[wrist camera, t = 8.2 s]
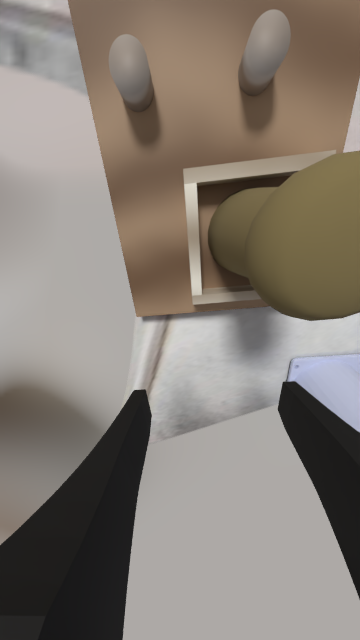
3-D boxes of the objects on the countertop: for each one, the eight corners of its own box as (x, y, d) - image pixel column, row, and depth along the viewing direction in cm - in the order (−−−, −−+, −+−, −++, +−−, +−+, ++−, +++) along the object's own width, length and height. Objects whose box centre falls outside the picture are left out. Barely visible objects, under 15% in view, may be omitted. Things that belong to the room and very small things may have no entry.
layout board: (302, 298, 19) (323, 312, 16) (139, 311, 20) (131, 326, 17) (377, -77, 10) (458, -202, 7) (70, -19, 11) (28, -109, 8)
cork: (274, 274, 16) (407, 352, 7) (203, 270, 16) (232, 342, 7) (297, 190, 14) (584, 108, 4) (212, 185, 14) (286, 88, 4)
